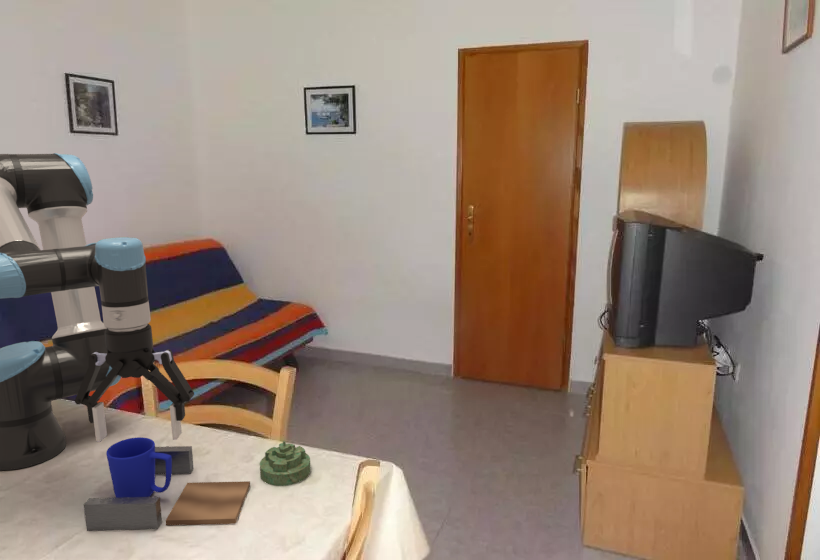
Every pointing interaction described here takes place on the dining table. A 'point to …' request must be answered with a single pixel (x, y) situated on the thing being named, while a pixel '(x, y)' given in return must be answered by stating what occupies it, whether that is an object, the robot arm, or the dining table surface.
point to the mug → (136, 467)
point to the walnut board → (209, 503)
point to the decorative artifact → (285, 465)
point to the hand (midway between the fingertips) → (139, 437)
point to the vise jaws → (136, 499)
